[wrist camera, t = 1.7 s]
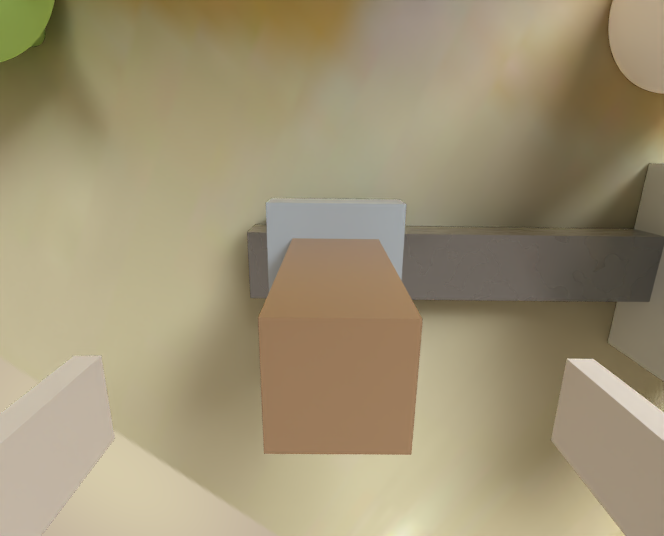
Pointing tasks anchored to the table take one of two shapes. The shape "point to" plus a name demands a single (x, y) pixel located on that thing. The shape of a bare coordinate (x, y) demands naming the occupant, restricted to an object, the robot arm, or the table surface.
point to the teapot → (22, 25)
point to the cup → (639, 41)
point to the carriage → (337, 329)
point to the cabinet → (660, 312)
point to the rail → (511, 263)
